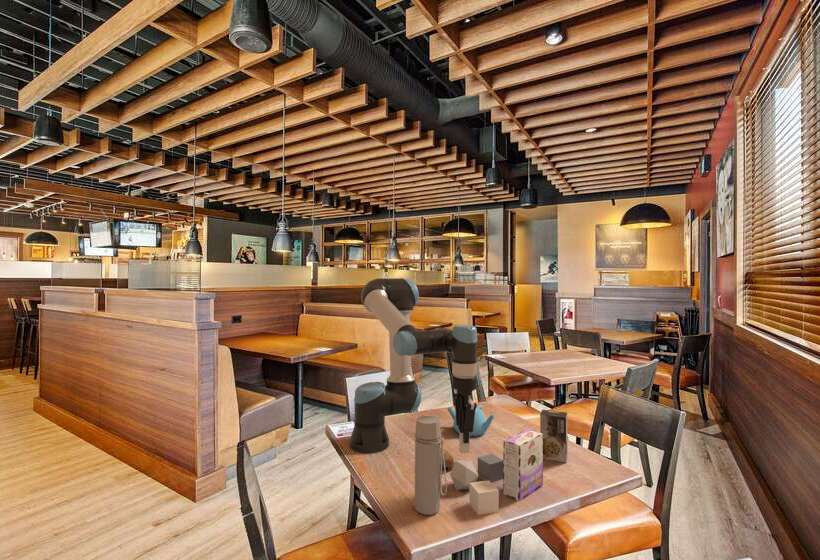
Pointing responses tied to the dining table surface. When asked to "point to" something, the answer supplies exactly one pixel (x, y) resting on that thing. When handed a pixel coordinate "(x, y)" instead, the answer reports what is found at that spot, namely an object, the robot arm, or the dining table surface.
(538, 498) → the dining table surface
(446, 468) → the bread roll
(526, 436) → the candy box
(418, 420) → the water bottle
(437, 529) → the dining table surface
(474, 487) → the cream block
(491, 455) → the charcoal block
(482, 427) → the teapot
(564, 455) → the coffee box
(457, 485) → the die
